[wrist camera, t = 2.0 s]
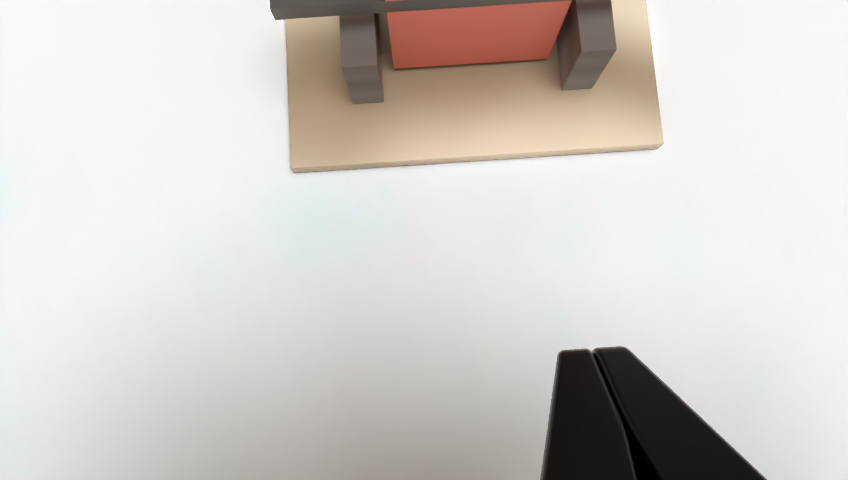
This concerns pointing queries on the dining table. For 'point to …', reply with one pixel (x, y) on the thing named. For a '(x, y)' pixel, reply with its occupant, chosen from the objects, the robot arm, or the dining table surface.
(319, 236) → the dining table surface
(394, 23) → the red plug
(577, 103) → the beige base board
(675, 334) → the dining table surface
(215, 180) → the dining table surface
